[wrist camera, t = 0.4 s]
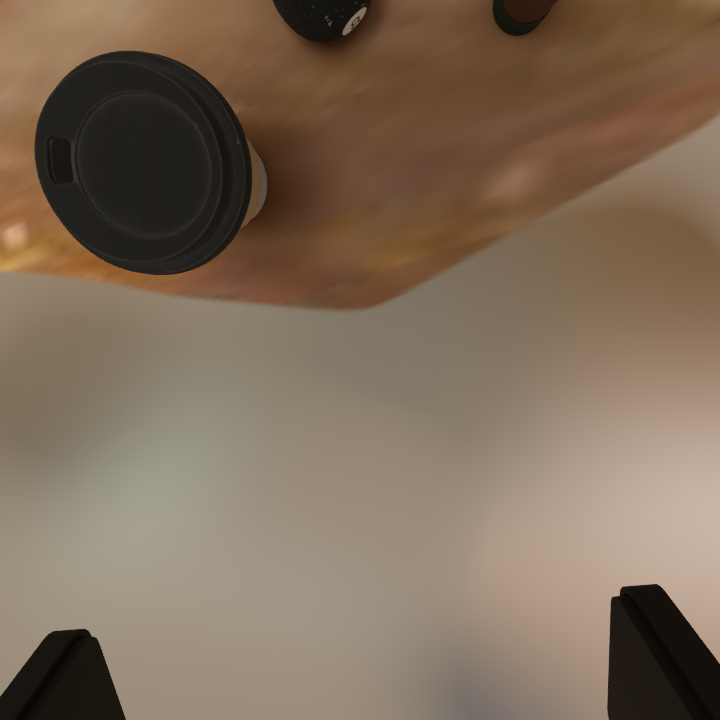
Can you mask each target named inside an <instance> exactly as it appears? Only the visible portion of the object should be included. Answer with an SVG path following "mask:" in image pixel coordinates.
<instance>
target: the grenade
mask: <svg viewBox="0 0 720 720" xmlns="http://www.w3.org/2000/svg"><path fill="white" fill-rule="evenodd" d="M557 1H558V0H494V3H493V13H494V17H495V20H496V22H497V24H498V26H499V27H500V28H501V29H502V30H503V31H504V32H506V33H508V34H511V35H523V34H526V33H528V32H530V31H532V30H533V29H534V28H536V27H537V26H538V25H539V23H540V22H541V21H542V20H543V19H544V17H545V16H546V15H547V14H548V12H549V11H550V9H551V8H552V6H553V5H554V4H555V3H556V2H557Z"/></svg>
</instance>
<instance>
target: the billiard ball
mask: <svg viewBox="0 0 720 720" xmlns="http://www.w3.org/2000/svg"><path fill="white" fill-rule="evenodd" d="M370 1H371V0H273V2H274V5H275V7H276V9H277V10H278V12H279V14H280V15H281V17H282V18H283V19H284V21H285V22H286V23H287V24H288V25H289V26H290V27H291V28H292V29H293V30H294V31H295V32H296V33H298V34H299V35H301V36H302V37H304V38H306V39H309V40H311V41H315V42H331V41H335V40H337V39H339V38H341V37H343V36H345V35H346V34H348V33H349V32H350V31H352V30H353V29H354V28H355V27H356V25H357V24H358V23H359V22H360V20H361V19H362V18H363V16H364V14H365V13H366V11H367V9H368V6H369V4H370Z"/></svg>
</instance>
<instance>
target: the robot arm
mask: <svg viewBox="0 0 720 720" xmlns="http://www.w3.org/2000/svg"><path fill="white" fill-rule="evenodd" d="M607 709H608V716H609V720H720V664H719V663H718V661H717V660H716V658H715V657H714V656H713V654H712V653H711V652H710V650H709V649H708V648H707V646H706V645H705V644H704V643H703V641H702V640H701V639H700V638H699V636H698V634H697V633H696V632H695V630H694V629H693V628H692V626H691V625H690V624H689V622H688V621H687V620H686V619H685V617H684V616H683V615H682V613H681V612H680V611H679V609H678V608H677V607H676V605H675V604H674V603H673V601H672V600H671V599H670V597H669V596H668V595H667V593H666V592H665V591H664V590H663V589H662V588H661V586H659V585H657V584H652V585H639V586H627V587H622V588H621V590H620V596H617V597H612V599H611V615H610V646H609V676H608V706H607ZM0 720H126V719H125V716H124V713H123V710H122V707H121V705H120V701H119V699H118V696H117V693H116V690H115V687H114V684H113V682H112V679H111V676H110V673H109V670H108V667H107V664H106V662H105V659H104V656H103V653H102V650H101V647H100V644H99V642H98V640H97V638H95V637H92V636H91V635H90V633H89V631H88V630H86V629H76V630H64V631H53V632H52V633H50V634H48V635H47V636H46V637H45V639H44V640H43V641H42V642H41V644H40V645H39V646H38V648H37V649H36V650H35V652H34V653H33V654H32V656H31V657H30V658H29V660H28V661H27V662H26V663H25V665H24V666H23V667H22V669H21V670H20V671H19V673H18V674H17V675H16V677H15V678H14V679H13V681H12V682H11V683H10V685H9V686H8V687H7V689H6V690H5V691H4V692H3V694H2V695H1V696H0Z"/></svg>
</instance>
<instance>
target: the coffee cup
mask: <svg viewBox="0 0 720 720" xmlns="http://www.w3.org/2000/svg"><path fill="white" fill-rule="evenodd" d="M35 162H36V168H37V173H38V177H39V180H40V184H41V187H42V189H43V192H44V194H45V196H46V198H47V200H48V202H49V204H50V206H51V207H52V209H53V211H54V212H55V214H56V215H57V217H58V218H59V219H60V221H61V222H62V224H63V225H64V226H65V228H66V229H67V230H68V231H69V232H70V234H71V235H72V236H73V237H74V238H75V239H76V240H77V241H78V242H79V243H80V244H81V245H83V246H84V247H85V248H86V249H87V250H89V251H90V252H91V253H93V254H94V255H96V256H97V257H99V258H100V259H102V260H104V261H106V262H108V263H110V264H112V265H114V266H117V267H119V268H122V269H125V270H129V271H132V272H138V273H145V274H152V275H170V274H178V273H183V272H186V271H190V270H193V269H195V268H198V267H200V266H202V265H204V264H206V263H207V262H209V261H210V260H212V259H213V258H215V257H216V256H217V255H218V254H220V253H221V252H222V251H223V250H224V249H225V248H226V247H227V246H228V245H229V243H230V242H231V241H232V240H233V238H234V237H235V235H236V234H237V232H238V231H239V230H240V229H242V228H243V227H244V226H245V225H247V224H248V222H249V221H250V220H251V219H252V218H254V217H255V216H256V215H257V214H258V213H259V211H260V210H261V209H262V206H263V204H264V202H265V199H266V194H267V175H266V171H265V167H264V165H263V162H262V160H261V158H260V157H259V155H258V154H257V152H256V151H255V150H254V148H253V146H252V144H251V143H250V141H249V140H248V139H247V137H246V136H245V134H244V131H243V129H242V127H241V125H240V122H239V120H238V118H237V117H236V115H235V113H234V111H233V110H232V108H231V107H230V105H229V104H228V102H227V101H226V100H225V98H224V97H223V96H222V94H221V93H220V92H219V91H218V90H217V89H216V88H215V87H214V86H213V85H212V84H211V83H210V82H209V81H208V80H207V79H205V78H204V77H203V76H202V75H200V74H199V73H198V72H196V71H195V70H193V69H191V68H190V67H188V66H186V65H184V64H182V63H180V62H178V61H176V60H173V59H171V58H168V57H165V56H161V55H157V54H152V53H146V52H140V51H117V52H110V53H106V54H102V55H99V56H96V57H94V58H91V59H89V60H87V61H85V62H84V63H82V64H80V65H79V66H77V67H76V68H75V69H73V70H72V71H71V72H70V73H69V74H68V75H66V76H65V77H64V78H63V79H62V81H61V82H60V83H59V84H58V85H57V87H56V88H55V90H54V91H53V92H52V93H51V95H50V96H49V98H48V99H47V101H46V103H45V105H44V107H43V109H42V112H41V114H40V117H39V120H38V124H37V128H36V134H35Z"/></svg>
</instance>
